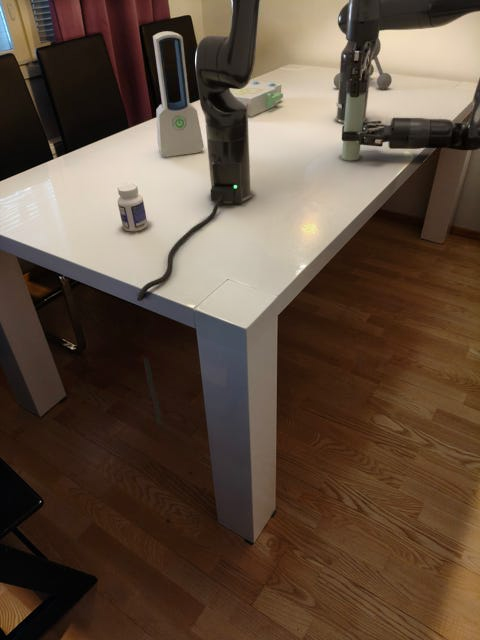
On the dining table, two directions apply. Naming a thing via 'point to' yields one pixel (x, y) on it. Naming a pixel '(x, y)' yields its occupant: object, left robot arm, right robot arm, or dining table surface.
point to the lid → (362, 86)
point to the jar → (353, 125)
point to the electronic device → (176, 106)
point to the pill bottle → (131, 208)
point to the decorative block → (258, 96)
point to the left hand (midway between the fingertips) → (356, 92)
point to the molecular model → (382, 80)
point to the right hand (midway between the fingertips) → (342, 133)
